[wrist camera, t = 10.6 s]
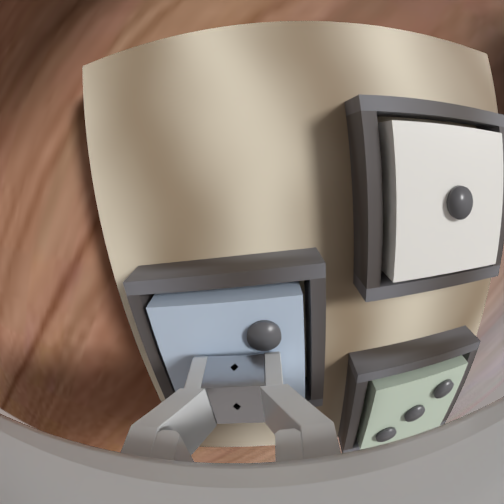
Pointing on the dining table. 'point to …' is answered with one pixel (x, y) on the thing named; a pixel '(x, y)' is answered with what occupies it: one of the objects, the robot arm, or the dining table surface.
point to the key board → (283, 191)
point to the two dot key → (231, 327)
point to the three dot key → (408, 402)
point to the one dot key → (439, 198)
